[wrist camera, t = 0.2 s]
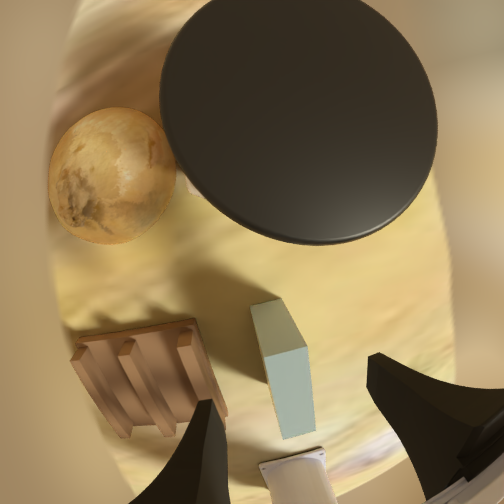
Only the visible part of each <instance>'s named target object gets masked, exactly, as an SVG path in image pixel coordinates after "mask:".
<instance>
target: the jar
mask: <svg viewBox="0 0 504 504" xmlns="http://www.w3.org/2000/svg"><path fill="white" fill-rule="evenodd" d="M159 102H160V113H161V119H162V124H163V128H164V132H165V135H166V138H167V141H168V144H169V146H170V149H171V151H172V153H173V155H174V157H175V159H176V161H177V163H178V164H179V166H180V168H181V169H182V171H183V172H184V174H185V180H186V186H187V190H188V191H189V192H190V193H191V194H193V195H196V196H198V197H201V198H204V199H206V200H207V201H209V202H210V203H211V204H212V205H213V206H214V207H215V208H217V209H218V210H219V211H220V212H222V213H223V214H224V215H226V216H227V217H229V218H230V219H232V220H233V221H235V222H236V223H238V224H240V225H242V226H243V227H245V228H247V229H249V230H251V231H253V232H256V233H258V234H261V235H263V236H266V237H269V238H272V239H275V240H279V241H283V242H287V243H293V244H299V245H310V246H324V245H336V244H342V243H347V242H351V241H355V240H358V239H361V238H364V237H366V236H369V235H371V234H373V233H375V232H377V231H379V230H381V229H382V228H384V227H385V226H387V225H388V224H390V223H391V222H393V221H394V220H395V219H396V218H398V217H399V216H400V215H401V214H402V213H403V212H404V211H405V210H406V209H407V208H408V207H409V206H410V204H411V203H412V202H413V201H414V199H415V198H416V197H417V195H418V194H419V192H420V190H421V189H422V187H423V185H424V183H425V181H426V179H427V177H428V175H429V172H430V170H431V167H432V164H433V160H434V156H435V152H436V146H437V135H438V120H437V110H436V104H435V99H434V95H433V91H432V87H431V85H430V82H429V79H428V76H427V74H426V72H425V70H424V68H423V65H422V64H421V62H420V60H419V58H418V56H417V55H416V53H415V52H414V50H413V49H412V47H411V46H410V44H409V43H408V42H407V40H406V39H405V38H404V37H403V36H402V34H401V33H400V32H399V31H398V30H397V29H396V28H395V27H394V26H393V25H392V24H391V23H390V22H389V21H388V20H387V19H386V18H385V17H384V16H382V15H381V14H380V13H379V12H377V11H376V10H375V9H373V8H372V7H370V6H369V5H367V4H366V3H364V2H362V1H361V0H211V1H210V2H208V3H207V4H205V5H204V6H203V7H202V8H200V9H199V10H198V11H197V12H196V13H195V14H194V15H193V16H192V17H191V18H190V19H189V20H188V21H187V22H186V23H185V24H184V26H183V27H182V28H181V30H180V31H179V32H178V34H177V35H176V37H175V39H174V41H173V42H172V44H171V46H170V49H169V51H168V53H167V55H166V58H165V62H164V65H163V69H162V74H161V80H160V91H159Z"/></svg>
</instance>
